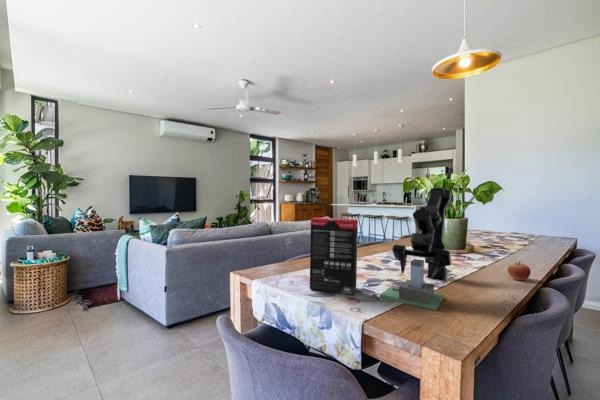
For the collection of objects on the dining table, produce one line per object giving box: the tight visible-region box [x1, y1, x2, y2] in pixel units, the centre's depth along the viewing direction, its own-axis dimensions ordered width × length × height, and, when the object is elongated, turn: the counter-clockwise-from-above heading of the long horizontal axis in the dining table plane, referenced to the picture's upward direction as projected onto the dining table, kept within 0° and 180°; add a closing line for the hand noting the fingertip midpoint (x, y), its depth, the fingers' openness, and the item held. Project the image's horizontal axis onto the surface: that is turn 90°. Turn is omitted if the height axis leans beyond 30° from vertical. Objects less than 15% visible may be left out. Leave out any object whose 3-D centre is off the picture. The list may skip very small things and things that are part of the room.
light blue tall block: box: [410, 258, 425, 289], centre depth 98 cm, size 3×4×12 cm
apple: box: [507, 260, 532, 281], centre depth 124 cm, size 8×8×8 cm
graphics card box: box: [309, 217, 359, 296], centre depth 108 cm, size 17×7×27 cm, turn 71°
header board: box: [379, 279, 445, 311], centre depth 101 cm, size 18×13×5 cm
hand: (416, 275), depth 97 cm, fingers open, 9 cm apart
